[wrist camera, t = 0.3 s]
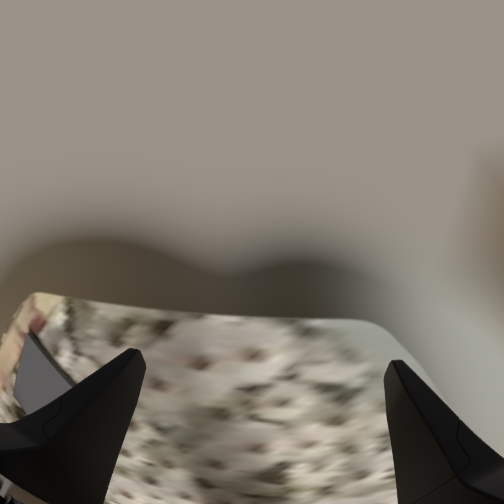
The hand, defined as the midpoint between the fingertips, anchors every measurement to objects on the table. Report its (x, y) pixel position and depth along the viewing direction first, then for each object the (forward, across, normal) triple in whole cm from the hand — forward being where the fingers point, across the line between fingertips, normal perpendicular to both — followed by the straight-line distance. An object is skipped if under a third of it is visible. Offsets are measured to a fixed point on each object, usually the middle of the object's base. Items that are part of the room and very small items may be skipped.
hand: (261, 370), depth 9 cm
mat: (+5, +28, +20) cm, 35 cm away
